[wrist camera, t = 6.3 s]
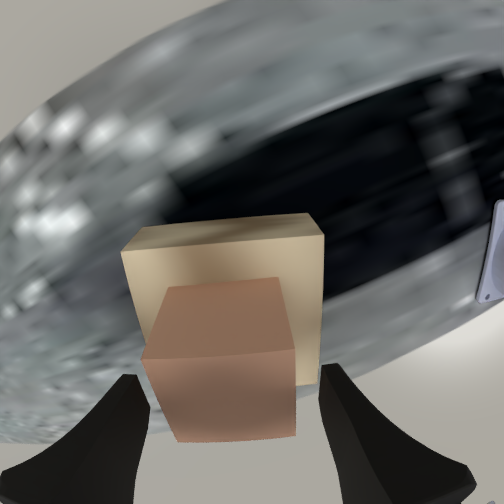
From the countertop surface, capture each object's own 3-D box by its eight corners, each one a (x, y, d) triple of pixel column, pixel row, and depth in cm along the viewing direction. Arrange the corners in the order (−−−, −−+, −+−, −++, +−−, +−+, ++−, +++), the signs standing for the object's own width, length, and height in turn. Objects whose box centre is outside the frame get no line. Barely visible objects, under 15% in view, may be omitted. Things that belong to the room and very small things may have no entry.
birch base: (308, 212, 17) (324, 234, 13) (306, 346, 20) (317, 383, 17) (141, 227, 17) (120, 251, 13) (172, 355, 20) (163, 392, 17)
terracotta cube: (278, 276, 14) (295, 348, 9) (282, 360, 16) (295, 435, 11) (168, 286, 14) (140, 359, 10) (189, 367, 16) (177, 442, 11)
